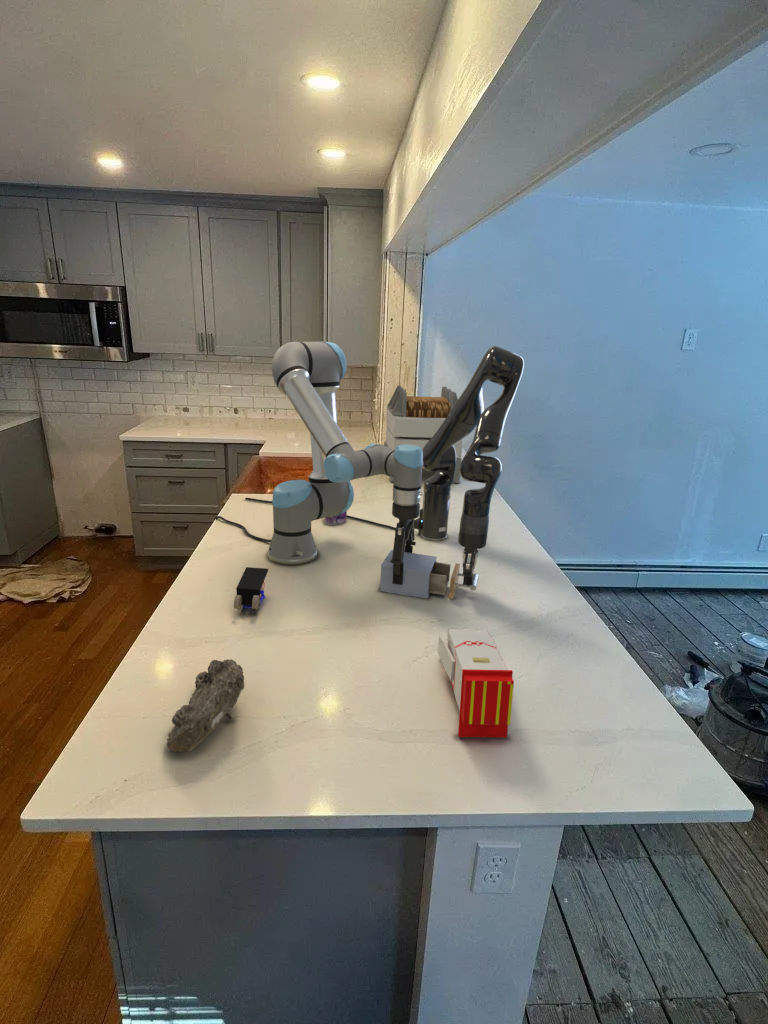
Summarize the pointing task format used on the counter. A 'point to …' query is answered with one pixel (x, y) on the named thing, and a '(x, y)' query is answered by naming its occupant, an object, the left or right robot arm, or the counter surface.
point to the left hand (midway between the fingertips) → (402, 574)
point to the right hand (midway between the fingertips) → (466, 585)
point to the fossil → (206, 705)
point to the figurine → (336, 519)
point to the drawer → (447, 579)
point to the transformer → (419, 421)
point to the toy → (478, 682)
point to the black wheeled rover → (250, 589)
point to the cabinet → (408, 575)
